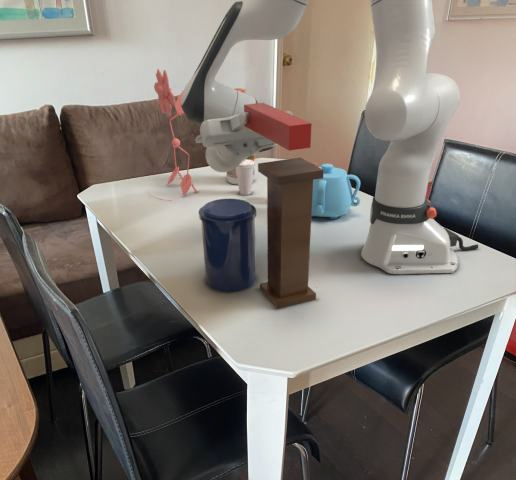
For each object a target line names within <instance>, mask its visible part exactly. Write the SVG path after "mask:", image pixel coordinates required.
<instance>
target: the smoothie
mask: <svg viewBox="0 0 516 480" xmlns="http://www.w3.org/2000/svg"><path fill="white" fill-rule="evenodd" d="M255 166H256V162H255V160H254V161H253V160H247V159H245V160H244V161H243V162H242V163H241V164H240V165H239V166H237V167H236V172H237V179H238V189H239V190H238V191H239V195H241V196H249V195H252V190H253V182H254V181H253V171H254V172H255ZM252 181H253V182H252Z"/></svg>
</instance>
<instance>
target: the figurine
mask: <svg viewBox="0 0 516 480" xmlns="http://www.w3.org/2000/svg"><path fill="white" fill-rule="evenodd" d="M155 77H156V80H157V81H156V82H154V85H153V89H154V92H156V94H157V99H158V102H157V103H156V104H155V106H154V108H157V107H158V106H159V108H160V112H161V113H162V114H165V112H166V114H167V115H168V117H171V116H172V111H173V108H172V104H173V105H174V108H175V111H176V114H175V115H173V116H172V117H171V118H170V119H169V121H168V123H169V126H170V127H169V128H170V130H171V134H172V138H173V139H172V140H171V146H172V147H173V155H174V165H175V166H174V167H175V169H173V171H172V172H171V174H170V176H169V178H168V180H167V183H166V185H167V186H168V185H170V184H171V183H172V182H173V181H174V180H175V178H176V177H177V175H178V176H179V177H177V178H176V179H177V180H179V179H181V182H180V190H181V193H182V195H183V196H186V195H187V193H188V192H189V191H190V189H191V187H192V189H193V191H194V192H195V193H198V190H197V189H196V187H195V186H194V184H193V181H192V175H190V173H189V170H190V169H189V168H190V167H189V166H190V157H191V156H190V155H191V154H190V153H188V152H187V151H186V150H185V149H184V148H182V147H181V141H180V139H179V138H176V137H175V133H174V129H173V125H172V121H173V120H174V119H175V118H177V117H178V116H180V117H181V116H182V115H184V116H186V115H185V113H184V112H183V110H182V107H181V99H182V94H183V91H184V90H182V92H181V93H179V95H178V97H177V99H176V100H175V96H174V95H175V94H174V93H173V92H172V88H171V87H170V83H169V82H170V81H169V77H168V72H167V71H166V69H163V72H161V70H160V69H159V68H156V73H155ZM176 148H178V149H180V150H181V151H182V152H184V153H185V154H186V155H187V156H188V159H187V166H186V174H185V175H184V176H182V174H181V171H180V166H177V157H176ZM149 196H150V197H153V198H155V199H157V200H159V201H164V199H162V198H159V197H155V196H153V195H152V194H151V193H149ZM166 201H167V202H171V200H170V199H169V200H168V199H166Z"/></svg>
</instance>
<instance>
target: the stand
mask: <svg viewBox="0 0 516 480" xmlns="http://www.w3.org/2000/svg"><path fill="white" fill-rule="evenodd" d="M313 164H314V163H312V162H310V161H308V160H306V159H304V158H302V157H294V158H286V159H280V160H279V159H278V160H272V161H266V162H258V163H257V172H258V173H260V174H261V175H262V176H264V177H266V182H267V183H266V188H267V189H266V190H267V191H266V193H267V194H266V196H267V197H266V200H267V201H266V202H267V204H266V206H267V209H266V211H267V212H266V213H267V214H266V218H267V219H266V220H267V221H266V224H267V227H266V228H267V230H266V232H267V233H266V235H267V237H266V238H267V245H266V246H267V252H266V253H267V254H266V255H267V258H266V259H267V281H265V282H260V283H259V291H260V292H261V293H262V294H263V295H264V297H266V298H267V300H268V301H269V302H270V303H271V304H272V305H273V306H274V307H275V308H276V309H277V310H279V309H283V308H287V307H291V306H295V305H299V304H304V303H307V302H312V301H315V300H316V299H317V292H315V291H314V290H313V289H312V288H311V287H310V286H309V275H310V273H309V270H310V254H311V253H310V251H311V235H312V234H311V233H312V232H311V230H312V217H311V215H312V195H313V180H315V179H321V178H323V173H324V170H323V169H321V168H319V167H320V166H318V165H317V166H318V167H317V166H315V165H313Z"/></svg>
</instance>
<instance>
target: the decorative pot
mask: <svg viewBox="0 0 516 480" xmlns="http://www.w3.org/2000/svg"><path fill="white" fill-rule="evenodd" d="M318 167H319V168H321V169H323V170H324V173H323V178H321V179H315V180H313V195H312V215H311V218H314V217H320V218H321V217H323V218H329V219H330V220H337V219H338V218H339V217H341V216H344V215H346V214H347V212H348V211H349V210H350V208H351V207H357V206H359V205H360V204H361V199H360V197H359V196H357V195H358V194H359V193H358V192H359V190H360V187H361V180H360V178H359V177H358V176H357V175H354V174H348V172H347V171H346V170H345V169H343V168H340V167H334V165H333V164H332V163H323V164H321V166H318ZM351 180H353V181H355V182H356V186H355V189H354V191H353V189H352V183H351ZM355 201H356V202H355Z"/></svg>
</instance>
